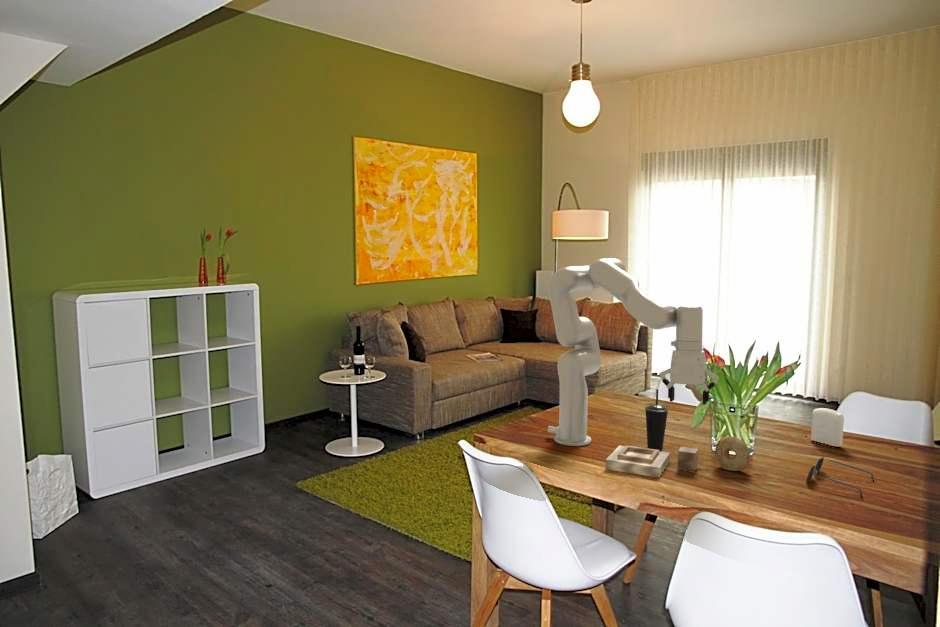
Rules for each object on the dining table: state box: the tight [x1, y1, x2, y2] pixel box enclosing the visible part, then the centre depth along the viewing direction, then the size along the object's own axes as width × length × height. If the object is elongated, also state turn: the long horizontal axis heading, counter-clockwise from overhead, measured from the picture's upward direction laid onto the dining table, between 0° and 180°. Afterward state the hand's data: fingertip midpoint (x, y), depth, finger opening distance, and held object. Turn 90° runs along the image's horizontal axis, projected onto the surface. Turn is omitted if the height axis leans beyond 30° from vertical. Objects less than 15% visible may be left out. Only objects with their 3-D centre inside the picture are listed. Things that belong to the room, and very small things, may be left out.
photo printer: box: [810, 407, 845, 446], centre depth 235 cm, size 10×4×12 cm, turn 29°
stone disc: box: [714, 436, 752, 472], centre depth 208 cm, size 10×4×10 cm, turn 48°
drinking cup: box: [644, 388, 669, 451], centre depth 229 cm, size 8×8×20 cm
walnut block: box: [677, 446, 699, 473], centre depth 209 cm, size 5×5×6 cm
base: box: [605, 444, 671, 478], centre depth 212 cm, size 16×16×4 cm
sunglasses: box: [805, 457, 875, 498], centre depth 198 cm, size 17×15×5 cm
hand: (688, 402), depth 208 cm, fingers open, 9 cm apart
